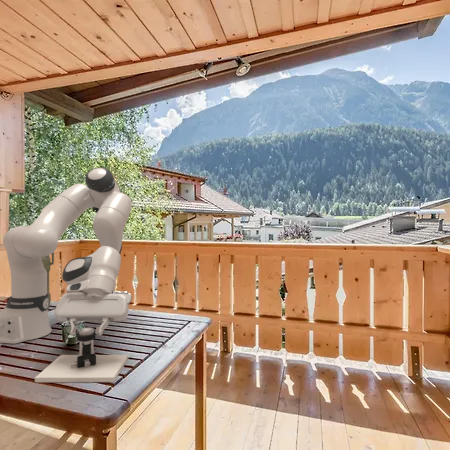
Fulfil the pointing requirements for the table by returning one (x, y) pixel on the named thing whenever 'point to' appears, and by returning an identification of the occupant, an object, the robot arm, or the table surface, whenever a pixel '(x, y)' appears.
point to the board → (83, 369)
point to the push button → (85, 348)
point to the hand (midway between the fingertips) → (85, 334)
